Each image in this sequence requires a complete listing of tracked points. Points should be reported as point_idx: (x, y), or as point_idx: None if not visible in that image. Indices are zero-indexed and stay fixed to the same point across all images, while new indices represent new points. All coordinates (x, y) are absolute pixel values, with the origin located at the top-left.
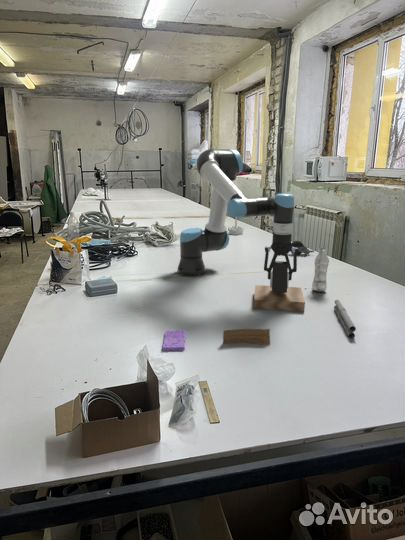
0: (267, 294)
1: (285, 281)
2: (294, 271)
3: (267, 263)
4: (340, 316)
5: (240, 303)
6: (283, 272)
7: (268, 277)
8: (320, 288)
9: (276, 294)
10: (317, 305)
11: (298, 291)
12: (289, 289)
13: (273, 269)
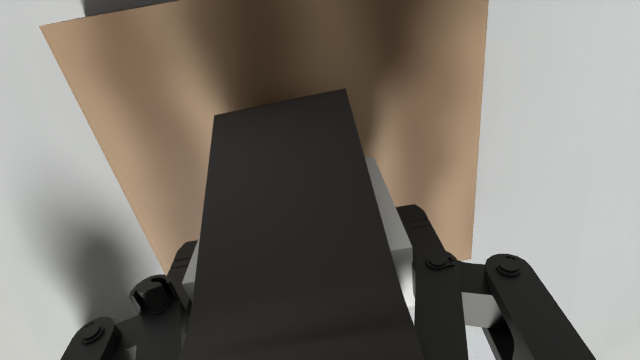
0: (379, 112)
1: (224, 185)
2: (106, 323)
3: (532, 356)
4: None
5: (551, 27)
6: (247, 273)
7: (418, 216)
8: None
9: None
10: (51, 162)
11: (174, 240)
12: None
13: (392, 283)
